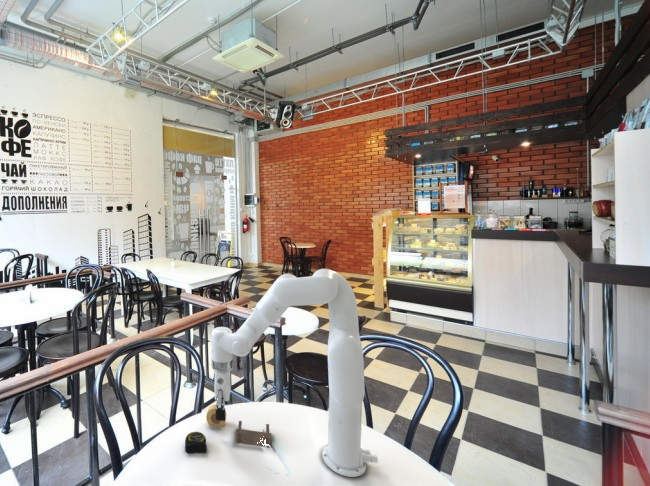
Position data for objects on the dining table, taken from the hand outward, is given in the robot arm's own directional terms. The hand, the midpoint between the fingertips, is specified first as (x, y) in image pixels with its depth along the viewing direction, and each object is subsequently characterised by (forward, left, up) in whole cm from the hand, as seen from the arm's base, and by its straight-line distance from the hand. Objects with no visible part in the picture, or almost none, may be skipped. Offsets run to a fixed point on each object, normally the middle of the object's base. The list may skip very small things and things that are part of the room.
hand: (222, 411), depth 117 cm
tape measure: (+7, +13, -6) cm, 16 cm away
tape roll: (+1, 0, -5) cm, 5 cm away
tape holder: (-11, +5, -6) cm, 14 cm away
